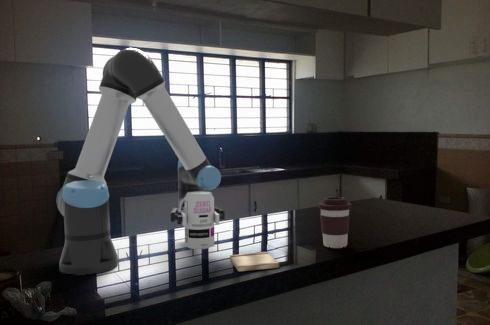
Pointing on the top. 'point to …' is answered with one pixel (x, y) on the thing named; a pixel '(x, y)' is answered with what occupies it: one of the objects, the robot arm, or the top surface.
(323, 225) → the coffee cup
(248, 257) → the trivet
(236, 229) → the top surface
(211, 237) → the supplement can
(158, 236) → the top surface
